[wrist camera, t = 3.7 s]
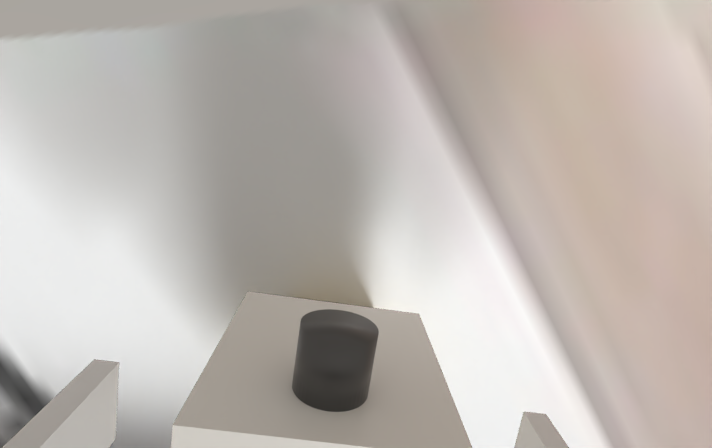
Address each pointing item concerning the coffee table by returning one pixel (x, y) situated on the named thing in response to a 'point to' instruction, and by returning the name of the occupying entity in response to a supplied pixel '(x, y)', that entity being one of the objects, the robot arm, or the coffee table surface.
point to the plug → (320, 381)
